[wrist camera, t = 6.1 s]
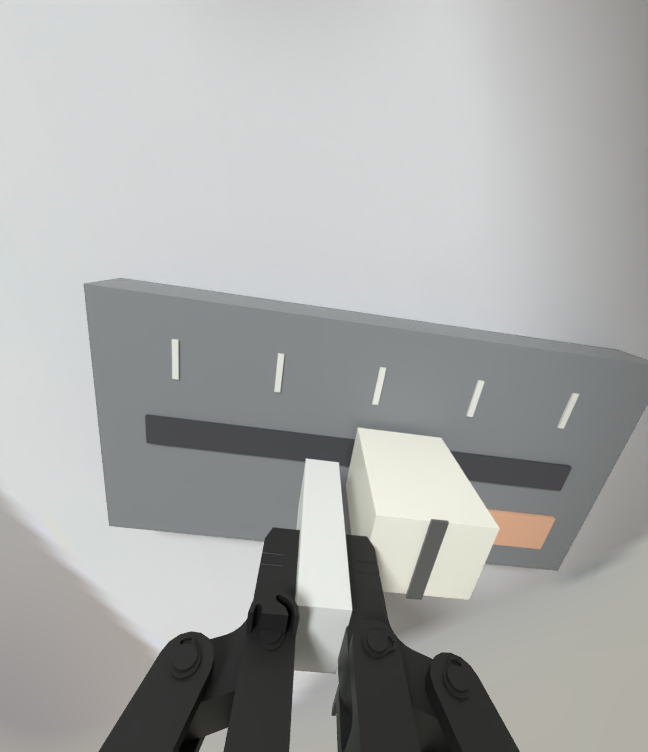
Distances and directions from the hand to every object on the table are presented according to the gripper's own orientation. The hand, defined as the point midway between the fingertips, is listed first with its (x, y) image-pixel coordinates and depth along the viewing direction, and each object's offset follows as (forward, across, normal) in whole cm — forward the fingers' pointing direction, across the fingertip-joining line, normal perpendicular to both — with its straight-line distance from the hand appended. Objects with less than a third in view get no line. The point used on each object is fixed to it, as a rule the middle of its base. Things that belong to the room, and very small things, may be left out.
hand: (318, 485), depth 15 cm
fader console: (+6, +2, 0) cm, 7 cm away
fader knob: (+3, +4, 0) cm, 5 cm away
